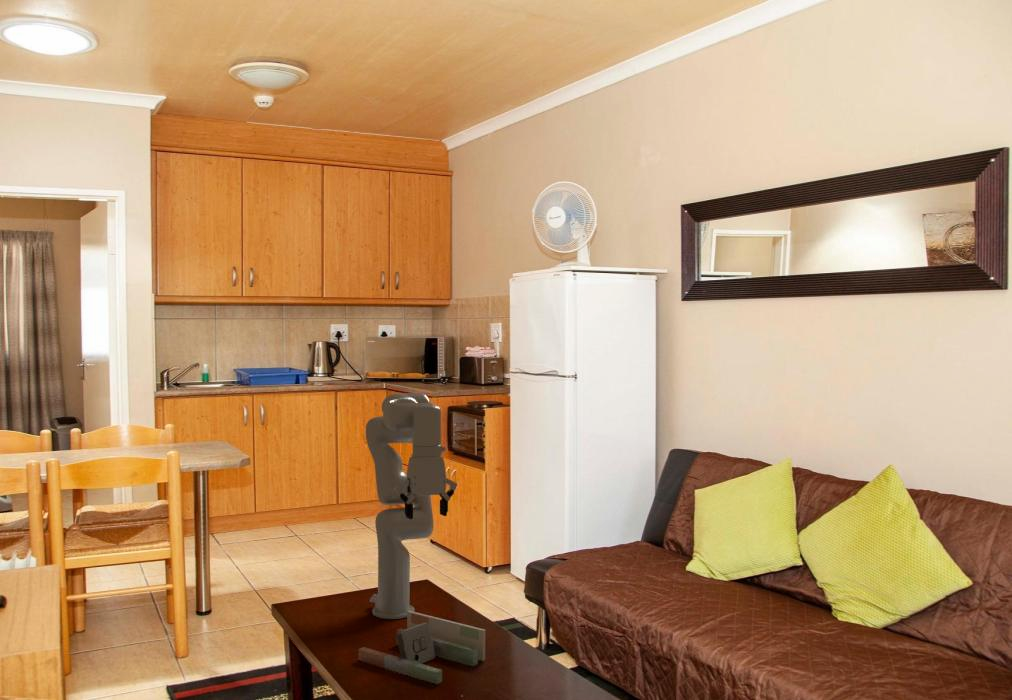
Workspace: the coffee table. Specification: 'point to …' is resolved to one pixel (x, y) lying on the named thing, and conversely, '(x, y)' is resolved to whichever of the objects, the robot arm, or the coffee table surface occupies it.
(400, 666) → the near rail
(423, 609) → the coffee table surface
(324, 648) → the coffee table surface
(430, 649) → the electrical switch
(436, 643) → the far rail
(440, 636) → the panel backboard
